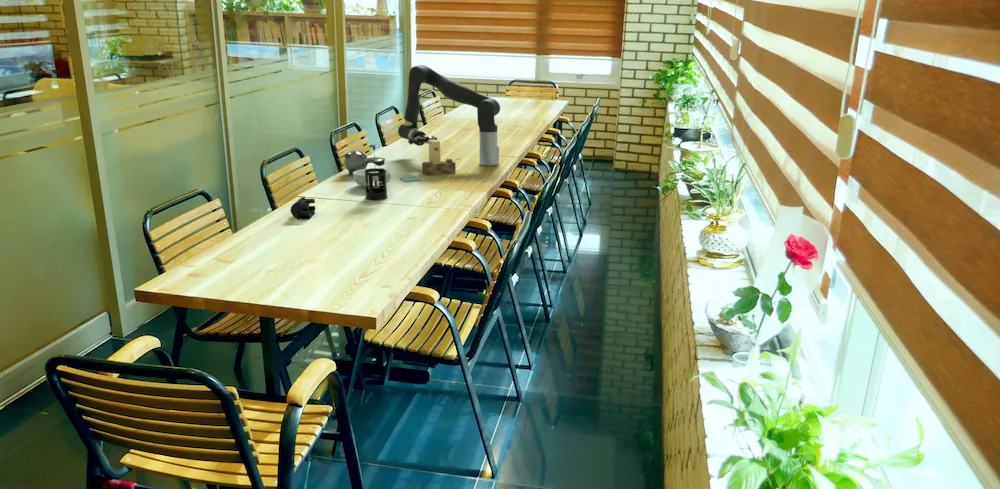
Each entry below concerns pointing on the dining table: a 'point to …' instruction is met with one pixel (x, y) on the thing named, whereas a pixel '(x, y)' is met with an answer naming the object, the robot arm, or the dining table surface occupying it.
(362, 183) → the cereal bowl
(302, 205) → the end cap
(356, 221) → the dining table surface
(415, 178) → the mat
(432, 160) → the brushed brass block
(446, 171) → the body
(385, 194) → the french press
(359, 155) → the piggy bank
